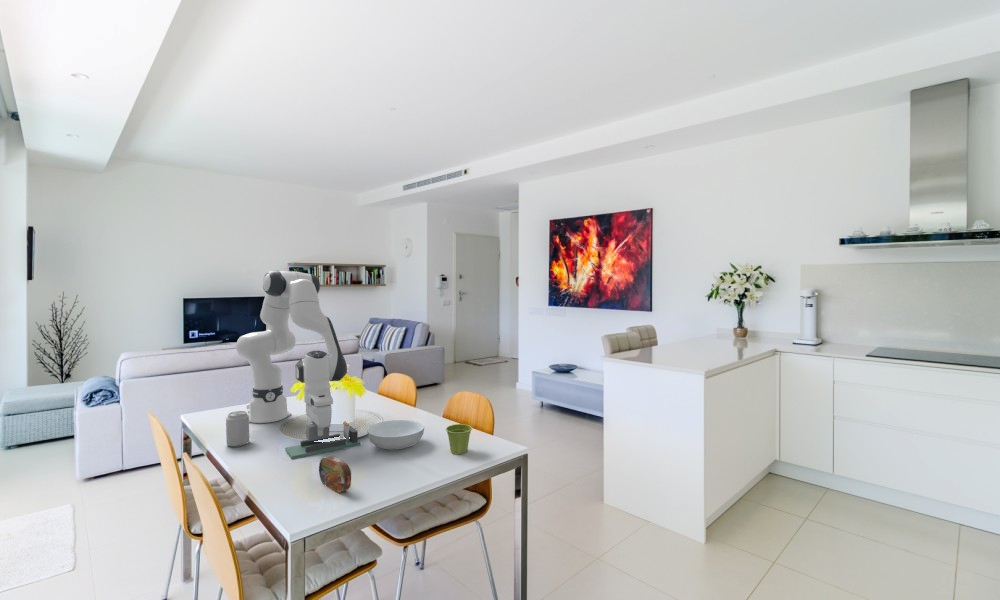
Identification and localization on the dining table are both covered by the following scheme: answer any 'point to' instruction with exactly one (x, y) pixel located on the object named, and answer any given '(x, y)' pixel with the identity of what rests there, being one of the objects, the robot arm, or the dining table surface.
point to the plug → (315, 432)
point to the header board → (325, 444)
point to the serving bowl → (395, 434)
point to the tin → (335, 474)
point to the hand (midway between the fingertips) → (317, 433)
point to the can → (237, 428)
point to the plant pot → (458, 438)
